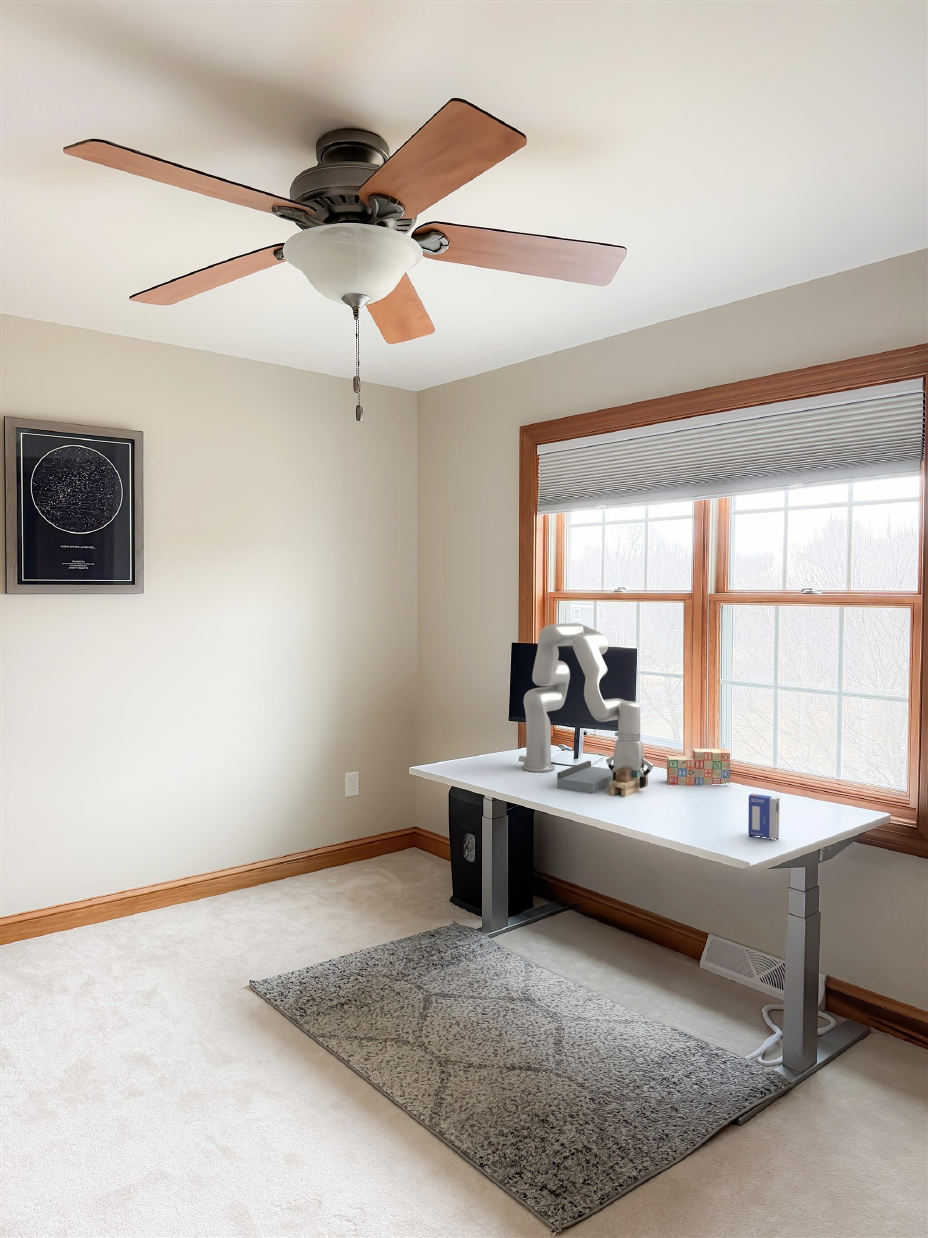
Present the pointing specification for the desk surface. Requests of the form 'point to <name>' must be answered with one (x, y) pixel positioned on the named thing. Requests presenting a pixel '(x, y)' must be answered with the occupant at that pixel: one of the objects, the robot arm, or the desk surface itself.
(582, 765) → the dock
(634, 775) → the teal cube
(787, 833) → the desk surface
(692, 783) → the stack of blocks
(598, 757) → the desk surface
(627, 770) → the brown wooden cube
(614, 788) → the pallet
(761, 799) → the walkman
